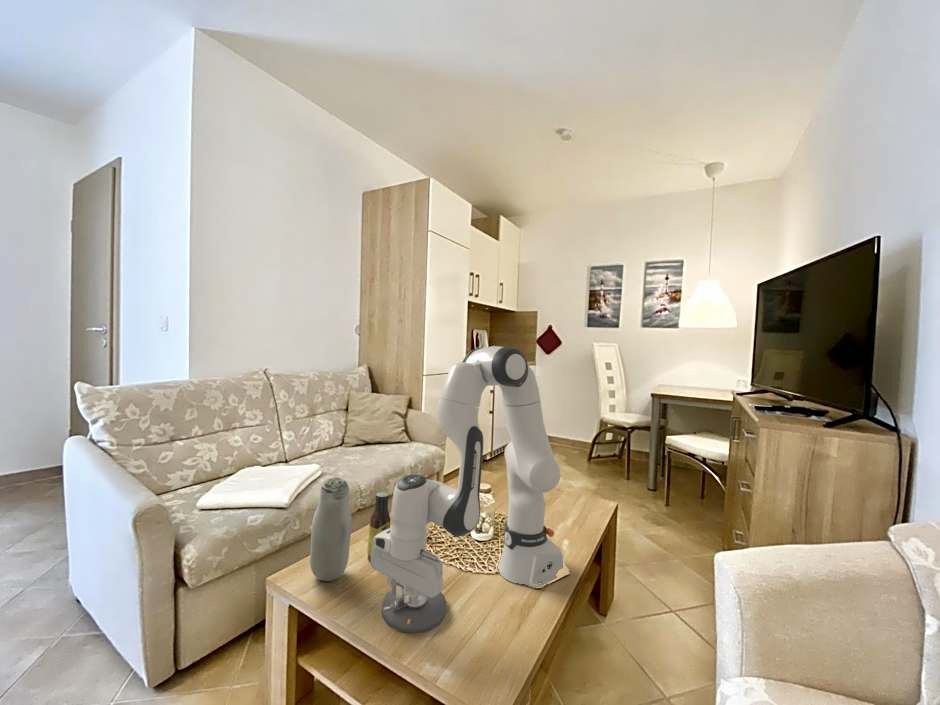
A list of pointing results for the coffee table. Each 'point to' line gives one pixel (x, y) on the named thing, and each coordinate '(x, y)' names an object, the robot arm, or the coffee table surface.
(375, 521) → the sauce bottle
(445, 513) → the robot arm
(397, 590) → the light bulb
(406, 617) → the dial plate
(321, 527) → the grey bottle
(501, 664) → the coffee table surface
